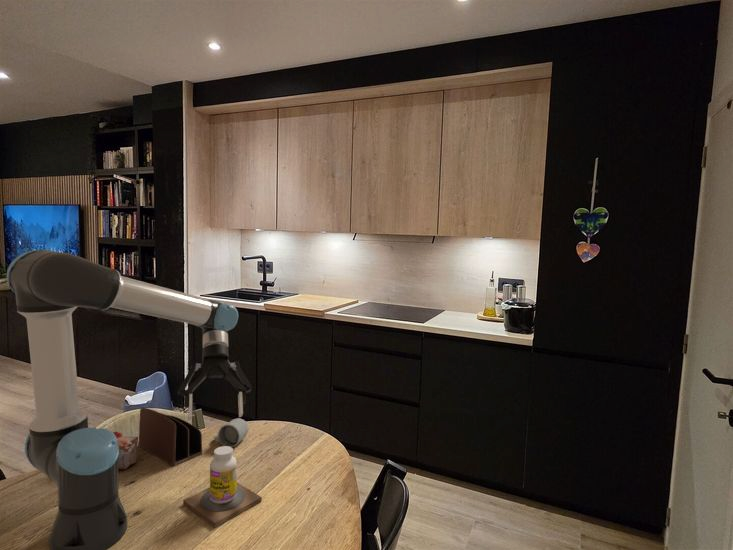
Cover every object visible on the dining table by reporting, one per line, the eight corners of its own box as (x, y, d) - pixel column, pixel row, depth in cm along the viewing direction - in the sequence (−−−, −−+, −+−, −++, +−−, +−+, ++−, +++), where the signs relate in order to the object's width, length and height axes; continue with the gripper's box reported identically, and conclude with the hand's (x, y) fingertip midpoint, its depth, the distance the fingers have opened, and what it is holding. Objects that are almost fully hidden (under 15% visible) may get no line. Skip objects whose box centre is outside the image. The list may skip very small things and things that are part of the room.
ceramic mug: (249, 438, 153) (249, 416, 153) (239, 449, 145) (239, 426, 145) (221, 435, 155) (221, 413, 154) (209, 445, 147) (208, 423, 146)
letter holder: (173, 467, 133) (173, 422, 132) (138, 447, 144) (138, 405, 143) (202, 454, 141) (203, 411, 140) (167, 436, 152) (167, 396, 151)
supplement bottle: (205, 504, 113) (205, 455, 112) (215, 489, 120) (215, 443, 119) (231, 505, 113) (231, 457, 112) (240, 490, 120) (240, 444, 118)
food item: (142, 459, 136) (141, 428, 136) (128, 473, 128) (127, 440, 128) (97, 458, 136) (97, 426, 136) (80, 471, 128) (80, 438, 128)
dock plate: (215, 527, 107) (215, 522, 107) (183, 504, 115) (183, 499, 115) (261, 501, 118) (261, 496, 118) (229, 481, 126) (229, 477, 126)
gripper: (254, 353, 144) (258, 418, 133) (170, 354, 134) (166, 424, 123) (259, 342, 139) (263, 409, 127) (171, 342, 129) (168, 415, 117)
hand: (216, 417), depth 125 cm, fingers open, 13 cm apart
